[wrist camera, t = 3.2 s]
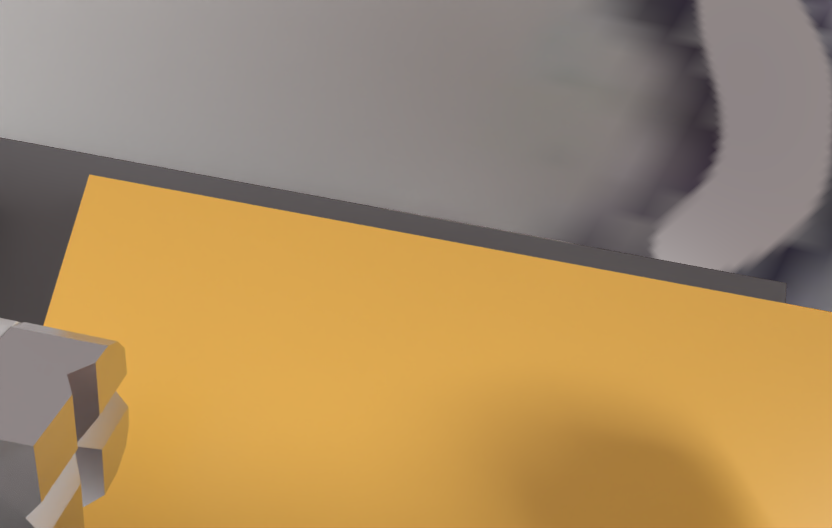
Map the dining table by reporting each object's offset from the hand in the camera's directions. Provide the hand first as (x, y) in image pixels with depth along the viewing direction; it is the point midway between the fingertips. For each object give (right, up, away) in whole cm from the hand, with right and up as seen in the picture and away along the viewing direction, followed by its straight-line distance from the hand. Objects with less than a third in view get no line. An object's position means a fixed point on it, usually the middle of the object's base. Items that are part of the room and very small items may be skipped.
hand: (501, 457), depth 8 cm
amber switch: (0, -1, +4) cm, 4 cm away
